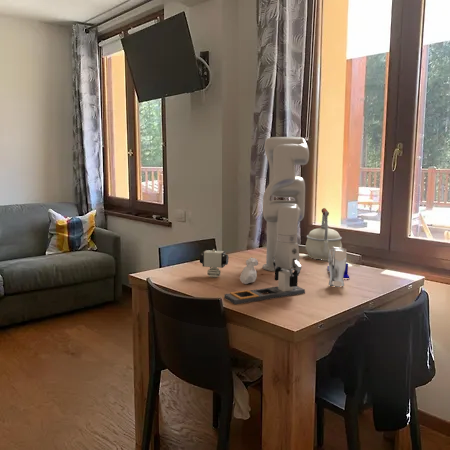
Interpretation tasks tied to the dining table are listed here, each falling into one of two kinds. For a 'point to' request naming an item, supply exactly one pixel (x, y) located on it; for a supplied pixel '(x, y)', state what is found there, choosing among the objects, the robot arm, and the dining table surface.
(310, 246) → the kettle
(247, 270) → the duck figurine
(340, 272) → the beer glass
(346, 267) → the mounting bracket
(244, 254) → the dining table surface
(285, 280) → the peg
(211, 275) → the pneumatic valve
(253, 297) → the rail
